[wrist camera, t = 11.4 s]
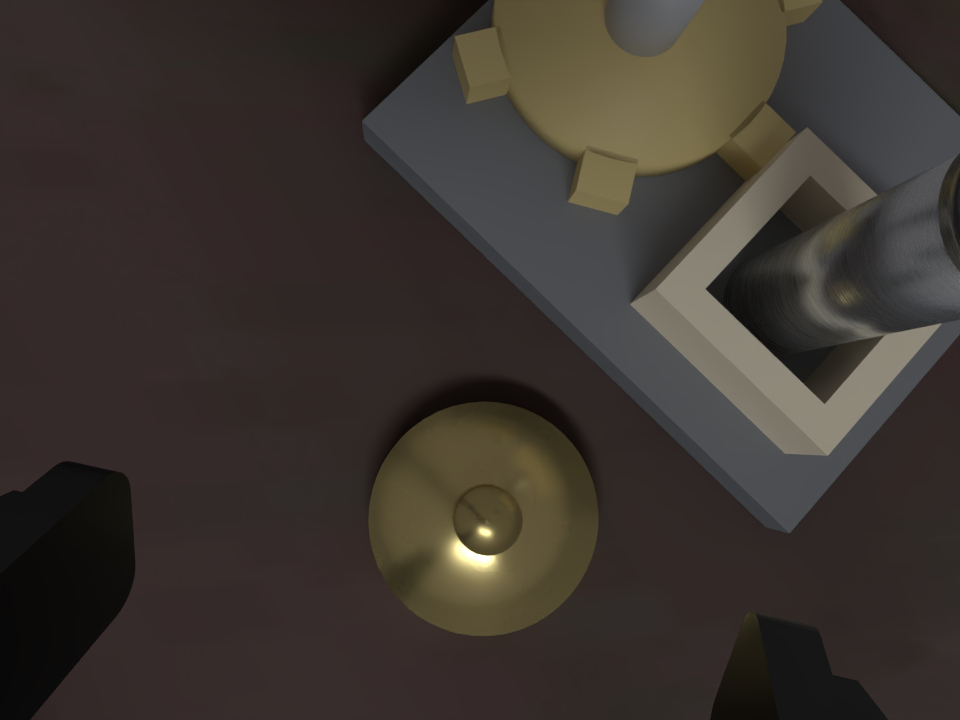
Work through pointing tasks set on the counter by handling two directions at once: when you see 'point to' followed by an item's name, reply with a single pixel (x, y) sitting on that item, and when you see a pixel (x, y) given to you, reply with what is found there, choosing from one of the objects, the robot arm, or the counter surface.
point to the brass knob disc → (483, 518)
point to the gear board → (680, 203)
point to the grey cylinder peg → (859, 270)
